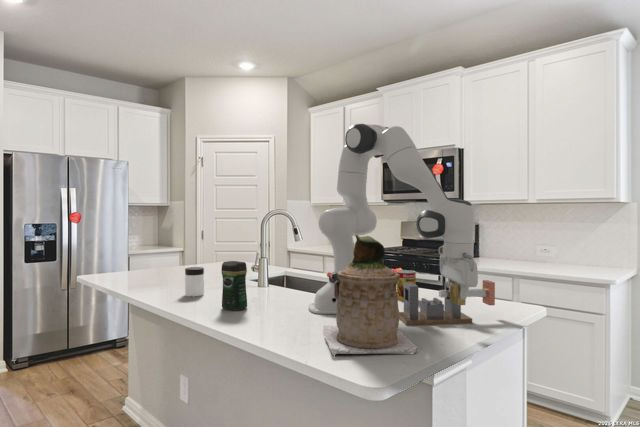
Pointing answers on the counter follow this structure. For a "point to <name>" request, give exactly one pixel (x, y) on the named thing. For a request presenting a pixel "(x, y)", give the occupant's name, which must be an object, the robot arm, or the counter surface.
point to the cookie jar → (367, 306)
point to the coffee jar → (234, 285)
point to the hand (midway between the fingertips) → (457, 295)
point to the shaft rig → (430, 309)
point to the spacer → (456, 294)
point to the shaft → (478, 292)
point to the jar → (194, 281)
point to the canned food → (404, 281)
